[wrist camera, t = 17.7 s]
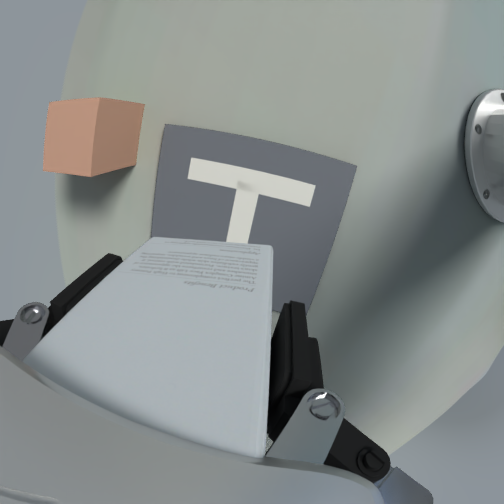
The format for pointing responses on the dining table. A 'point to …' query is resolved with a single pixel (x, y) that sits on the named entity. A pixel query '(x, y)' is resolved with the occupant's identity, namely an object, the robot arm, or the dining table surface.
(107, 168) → the block
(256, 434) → the skincare box
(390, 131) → the dining table surface
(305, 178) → the letter mat
